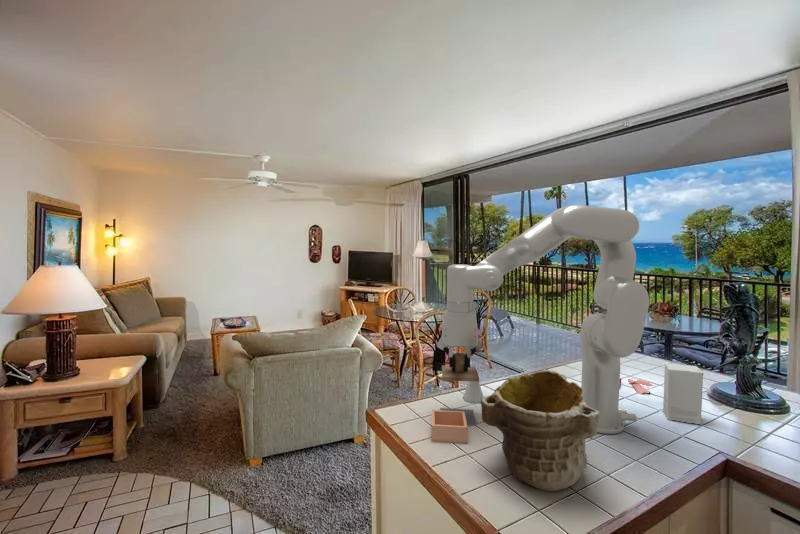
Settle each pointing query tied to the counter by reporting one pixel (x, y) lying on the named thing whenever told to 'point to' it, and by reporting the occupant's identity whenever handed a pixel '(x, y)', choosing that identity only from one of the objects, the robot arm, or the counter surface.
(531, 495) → the counter surface
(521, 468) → the ceramic vessel
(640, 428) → the counter surface
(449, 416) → the open square container
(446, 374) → the lid
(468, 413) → the mat
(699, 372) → the skincare box
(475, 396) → the flask
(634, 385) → the cloth
